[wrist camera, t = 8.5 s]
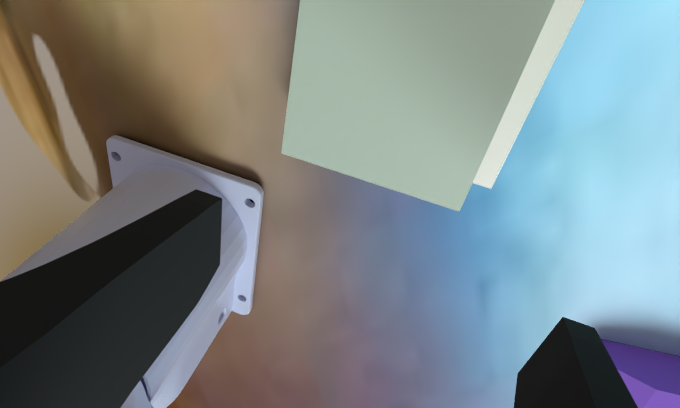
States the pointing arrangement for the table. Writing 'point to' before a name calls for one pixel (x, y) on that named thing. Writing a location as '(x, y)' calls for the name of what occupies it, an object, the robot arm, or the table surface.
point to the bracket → (647, 375)
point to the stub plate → (528, 88)
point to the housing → (406, 88)
